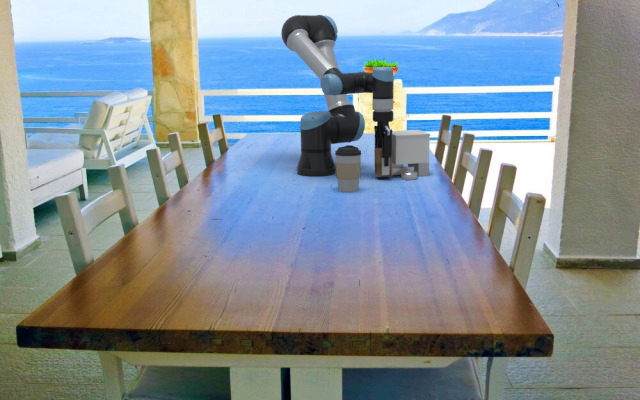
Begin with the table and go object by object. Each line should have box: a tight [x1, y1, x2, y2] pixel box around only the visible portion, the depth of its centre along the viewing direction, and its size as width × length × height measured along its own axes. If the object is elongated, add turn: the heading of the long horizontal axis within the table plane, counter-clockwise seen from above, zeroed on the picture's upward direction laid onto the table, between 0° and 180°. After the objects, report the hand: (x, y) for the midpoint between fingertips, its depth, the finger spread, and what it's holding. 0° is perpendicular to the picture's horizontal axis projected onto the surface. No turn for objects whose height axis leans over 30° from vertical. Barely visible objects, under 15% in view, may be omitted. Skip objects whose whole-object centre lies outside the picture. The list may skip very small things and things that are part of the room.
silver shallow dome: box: [400, 171, 418, 181], centre depth 253 cm, size 6×6×2 cm
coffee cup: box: [334, 144, 362, 193], centre depth 235 cm, size 9×9×15 cm
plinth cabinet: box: [392, 129, 431, 177], centre depth 261 cm, size 13×12×16 cm
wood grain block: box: [373, 147, 414, 178], centre depth 255 cm, size 14×5×10 cm, turn 104°
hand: (383, 173), depth 254 cm, fingers closed on wood grain block, 5 cm apart
